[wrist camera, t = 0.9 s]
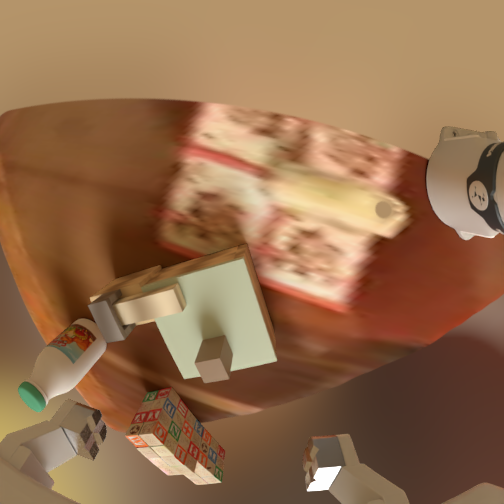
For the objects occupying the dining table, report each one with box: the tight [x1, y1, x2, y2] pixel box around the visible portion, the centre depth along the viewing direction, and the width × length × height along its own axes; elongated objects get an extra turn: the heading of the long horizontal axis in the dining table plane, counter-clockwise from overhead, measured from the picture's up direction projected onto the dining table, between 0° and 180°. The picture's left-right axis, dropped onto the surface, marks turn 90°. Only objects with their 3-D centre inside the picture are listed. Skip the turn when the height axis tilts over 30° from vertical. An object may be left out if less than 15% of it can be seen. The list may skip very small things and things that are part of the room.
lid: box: [141, 256, 277, 383], centre depth 31 cm, size 13×14×6 cm
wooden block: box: [112, 283, 187, 326], centre depth 31 cm, size 9×3×2 cm, turn 107°
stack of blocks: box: [125, 387, 225, 485], centre depth 41 cm, size 21×6×12 cm, turn 25°
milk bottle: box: [18, 318, 107, 412], centre depth 33 cm, size 8×8×20 cm
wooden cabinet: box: [88, 243, 277, 356], centre depth 35 cm, size 22×15×12 cm
